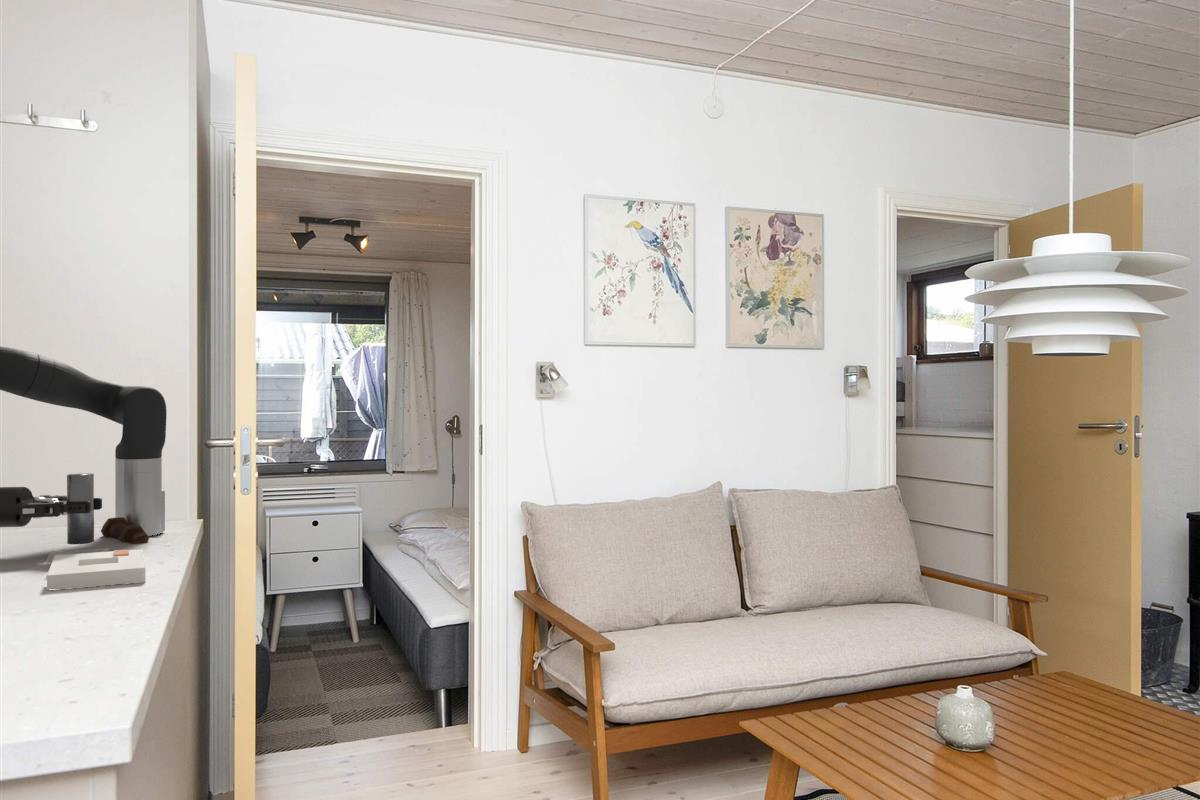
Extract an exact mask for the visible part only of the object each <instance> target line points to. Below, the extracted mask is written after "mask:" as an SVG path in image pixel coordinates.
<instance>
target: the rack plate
mask: <svg viewBox="0 0 1200 800" xmlns="http://www.w3.org/2000/svg"><path fill="white" fill-rule="evenodd" d="M143 550H144V549H143V548H141V549H128V548H126V549H115V550H114V549H113V551H112V550H111V551H110V550H109V552H95V553H81V554H67V555H55V556H54V559H53V560H52V561H51V565H49V566H50V567H49V569H48V571H47V574H46V591H47V590H49V589H65V590H69V589H68V588H77V589H84V588H83V587H88V588H97V587H96V586H100V587H106V586H105V585H111V586H115V585H114V584H123V585H127V584H126V583H134V584H143V582H145V583H146V563H145V562H146V561H145V557H144V552H143Z"/></svg>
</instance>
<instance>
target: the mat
mask: <svg viewBox="0 0 1200 800" xmlns="http://www.w3.org/2000/svg"><path fill="white" fill-rule="evenodd" d="M95 552H110V547H105V548H102V547H101V548H91V549H75V550H60V551H59V550H58V551H50V552H49V553H48V556H47V558H46V562H50V561H51V562H52V561H53V559H54V556H55V555H67V554H81V553H95Z"/></svg>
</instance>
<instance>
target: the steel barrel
mask: <svg viewBox="0 0 1200 800" xmlns="http://www.w3.org/2000/svg"><path fill="white" fill-rule="evenodd" d="M94 477H95V474H94V473H92V472H91V473H90V472H83V473H82V472H79V473H69V474H68V473H67V474H66V496H67V501H68V504H69V502H70V501H90V502H91V512H90V513H77V514H69V512H68V514H67V515H66V524H67V525H66V534H67V535H66V536H67V537H66V538H67V539H66V544H68V545H86V544H92V543H94V542H95V510H94V498H95V496H94V494H95V493H94V491H95V490H94V489H95V488H94V486H95V485H94Z"/></svg>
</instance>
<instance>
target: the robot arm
mask: <svg viewBox="0 0 1200 800" xmlns="http://www.w3.org/2000/svg"><path fill="white" fill-rule="evenodd" d="M0 391H1V392H2V391H3V392H6V393H9V394H12V395H16V396H19V397H23V398H25V399H30V400H33V401H37V402H41V403H45V404H49V405H55V406H60V407H64V408H71V409H76V410H81V411H85V412H89V413H92V414H94V415H97V416H100V417H102V418H105V419H107V420H110V421H112V422H115V423H116V424H120V425H122V433H121V434H122V435H121V439H120V441H119V443H118V444H117V445H116V447H115V453H114V454H115V456H114V458H115V460H114V461H115V462H114V463H115V464H114V467H115V468H114V469H115V471H114V472H115V474H114V475H115V477H114V478H115V480H114V481H115V484H114V485H115V488H114V489H115V491H114V492H115V497H114V499H115V500H114V502H115V503H114V505H115V512H114V513H115V514H114V516H115V517H114V518H118V517H123V518H125V519H126V521H127V522H128V524H129V525H130V526H131V525H139V526H141V527H142V529H143V530H144V532H145V533H146V534H147V535H148V537H152V535H153V536H158V535H160V533H161V532H162V533H164V532H163V531H165V532H166V524H165V523H166V513H165V512H166V491H165V490H164V489H162V485H163V484H162V482H163V479H162V478H163V477H162V476H163V475H162V473H163V472H162V468H163V467H162V466H163V465H162V462H163V461H162V460H163V459H162V458H163V449H164V446H165V444H166V436H167V435H166V434H167V432H166V431H167V403H166V400H165V398H164V396H163V394H162V393H161V392H160V391H159V389H158V390H157V389H156V388H154V387H151V386H145V385H144V386H141V385H140V386H139V385H138V386H137V385H136V386H130V385H123V384H118V383H113V382H109V381H104V380H102V379H101V380H100V379H97V378H95V377H93V376H90V375H87V374H86V373H83V371H81V370H78V369H77V368H75V367H73V366H72V365H69V364H67V363H66V362H65V363H64V362H62V361H60V360H58V359H54V358H52V357H47V356H46V355H45V356H44V355H42V354H38V353H35V352H31V351H28V350H23V349H19V348H18V349H17V348H14V347H13V348H12V347H7V346H0ZM102 508H103V499H102V497H94V511H96V510H98V511H99V510H101V509H102ZM68 512H69V514H77V513H90V512H91V502H90V501H70V502H69V504H68V501H67V494H66V495H65V494H64V495H58V494H55V495H51V494H40V495H39V496H33V492H32V491H31V489H30V488H28V487H26V486H3V487H1V486H0V528H19V527H20V528H23V527H25V526H27V525H28V524H29V523H30V522H31V520H32V518H33V519H41V518H54V517H55V518H58V517H61V516H67V514H68ZM162 533H161V534H162ZM157 534H158V535H157Z"/></svg>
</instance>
